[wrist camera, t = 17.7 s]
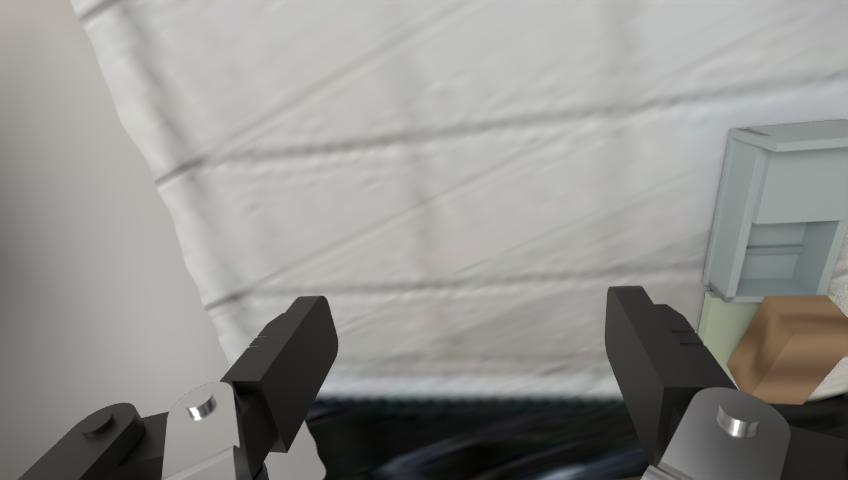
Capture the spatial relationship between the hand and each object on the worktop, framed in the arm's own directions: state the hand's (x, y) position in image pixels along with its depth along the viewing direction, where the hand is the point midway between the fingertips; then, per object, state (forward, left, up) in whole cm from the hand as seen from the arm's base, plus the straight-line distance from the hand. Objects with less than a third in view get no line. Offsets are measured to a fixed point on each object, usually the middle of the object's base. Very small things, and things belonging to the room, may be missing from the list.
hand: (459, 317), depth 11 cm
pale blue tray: (-7, +24, -27) cm, 37 cm away
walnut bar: (+2, +32, -25) cm, 40 cm away
